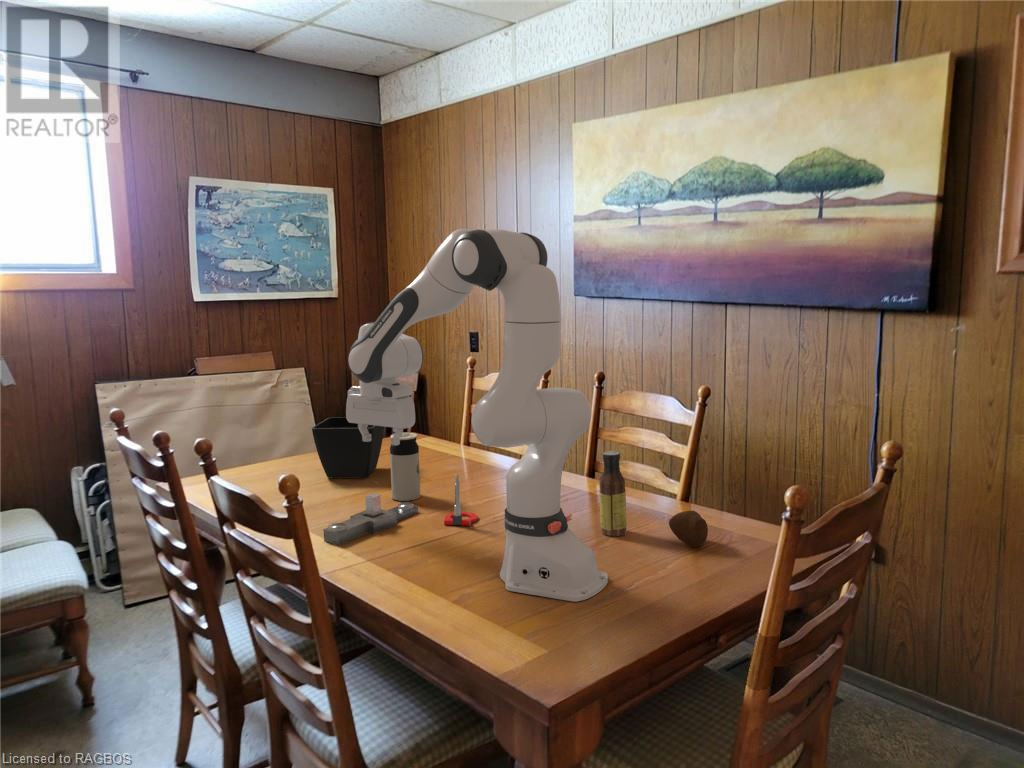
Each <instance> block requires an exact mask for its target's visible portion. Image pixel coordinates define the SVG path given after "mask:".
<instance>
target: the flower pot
mask: <svg viewBox="0 0 1024 768" xmlns="http://www.w3.org/2000/svg"><path fill="white" fill-rule="evenodd" d="M367 430H368V432H369V434H371V438H372V440H371V441H369V442H364V441H363V440H362V434H361V432H360V430H359V428H358V424H357V423H349V422H348V420H347V419H346V416H344V417H343V416H341V417H340V416H339V417H337V416H336V417H335V416H334V417H328V418H325V419H324V420H323V421H321V422H319V423H317V424H315V426H313V427H311V432H312V436H313V441H314V444H315V448H316V452H317V455H318V458H319V461H320V463H321V466H322V468H323V471H324V473H325V476H326V477H327V478H329V479H366V478H369V477H370V475H371V474H372V473H373V472H374V471H375V470H376V469H377V466H378V462H379V459H380V455H381V450H382V446H383V445H382V444H383V439H384V433H385V427H384V426H375V425H368V427H367Z"/></svg>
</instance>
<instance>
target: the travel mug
mask: <svg viewBox="0 0 1024 768" xmlns="http://www.w3.org/2000/svg"><path fill="white" fill-rule="evenodd" d="M393 436H394V433H393V434H391V435H390V438H393ZM417 437H418V434H417V433H414V432H402V434H401V436H400V444H399V445H396V446H395V445H391V444H390V446H389V456H390V457H389V458H390V461H389V462H390V482H391V484H390V485H391V486H390V487H391V498H392V500H395V501H397V500H398V502H411V501H410V500H412V501H415V500H417V499H418V498H420V497H421V480H420V476H421V473H420V448H419V447H420V446H419V444H418V442H417ZM390 438H389V439H390Z"/></svg>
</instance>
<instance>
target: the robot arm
mask: <svg viewBox="0 0 1024 768" xmlns="http://www.w3.org/2000/svg"><path fill="white" fill-rule="evenodd" d="M547 265H548V251H547V248H546V246H545V244H544V242H543V241H542V240H541V239H540V238H538V237H537V236H535V235H533V234H530V233H527V232H517V231H512V230H511V231H510V230H506V229H485V230H484V229H474V230H471V229H469V228H458V229H455V230H453V231H452V232H451V233H450V234H449V235H448V236H447V237H446V238H445V239H444V240H443V241H442V242H441V244H440V245H439V246H438V247H437V249H436V250H435V251H434V253H433V254H432V255H431V258H430V259H429V261H428V262H427V263H426V265H425V266H424V268H423V270H422V271H421V272H420V273H419V274H418V275H417V276H416V278H415V279H413V281H412V282H411V283H410V284H408V285H407V286H406V287H405V288H404V289H403V290H401V291H400V292H399V293H397V294H396V296H395V297H394V298H393V299H392V300H391V301H390V303H389V304H388V305H387V306H386V308H384V310H383V311H382V312H381V313H380V315H379V316H378V317H377V319H376V320H375V321H373V322H372V321H370V322H367V323H365V324H362V325H361V326H360V327H359V330H358V337H357V339H356V340H355V341H354V342H353V344H352V346H350V349H349V351H348V355H347V365H348V368H349V370H350V372H351V374H352V375H353V376H354V377H355V378H357V380H359V386H357V385H353V386H351V387H350V388H349V389H348V390H347V399H346V406H345V407H346V408H345V417H346V419H347V420H348V422H349V423H357V424H358V428H359V430H360V432H361V434H362V440H363V441H364V442H369V441H371V440H372V438H371V434H369V432H368V430H367V427H368V425H375V426H384V428H385V427H386V428H392V431H393V432H394V433H393V434H394V436H393V438H389V439H390V440H389V441H390V446H391V445H395V446H396V445H399V444H400V436H401V434H402V433H404V430H405V429H411V428H412V427H413V426H414V425H415V423H416V408H415V402H414V399H413V398H412V397H411V396H412V395H413V393H414V390H413V387H412V386H411V385H409V384H406V383H404V382H402V381H401V380H400V379H397V378H403V377H409V376H413V375H416V374H417V373H419V371H420V370H421V368H422V367H423V364H424V361H425V360H424V359H425V358H424V357H425V355H424V353H425V352H424V350H423V349H424V348H423V347H422V345H421V343H420V341H419V340H418V339H417V338H416V337H414V336H409V335H407V334H405V333H404V332H405V331H406V330H407V329H408V328H410V327H411V326H412V325H415V324H417V323H418V322H421V321H424V320H427V319H431V318H435V317H438V316H442V315H446V314H449V313H452V312H453V311H455V310H457V309H458V308H459V307H460V306H461V305H462V304H463V303H464V302H465V301H466V300H467V298H468V296H470V294H471V292H472V291H473V289H474V287H475V286H478V287H479V288H483V289H484V290H486V291H489V292H490V291H493V290H495V289H498V290H499V291H500V293H501V294H502V297H503V300H504V345H503V358H502V363H501V367H500V370H499V373H498V375H497V377H496V379H495V380H494V383H493V384H492V386H491V387H490V389H489V390H488V391H487V392H486V393H485V395H483V396H482V397H480V398H479V399H478V401H477V402H476V403H475V405H474V407H473V410H472V412H471V427H472V431H473V434H474V436H475V437H476V439H477V440H478V441H479V442H480V443H481V445H483V446H486V447H492V448H493V447H494V448H504V449H505V448H506V449H507V448H516V447H523V446H524V447H525V446H527V449H526V451H525V453H524V454H523V456H522V457H521V458H520V459H519V460H517V462H515V463H514V464H513V465H511V466H510V468H509V470H508V471H507V474H506V479H505V480H506V483H505V485H506V492H505V493H506V508H505V509H504V528H505V533H506V535H505V548H504V553H503V554H504V555H503V559H502V564H501V569H500V571H499V577H500V579H501V581H503V582H504V585H505V589H506V590H507V591H509V592H515V593H519V594H520V593H522V594H527V595H532V596H536V597H537V596H538V597H545V598H550V599H557V600H561V601H566V602H567V601H568V602H573V603H574V602H580V601H585V600H587V599H590V598H592V597H594V596H595V595H597V594H598V593H600V592H601V591H602V590H604V588H606V587H607V584H608V582H609V576H608V573H607V572H605V571H602V570H599V569H598V565H597V561H596V560H597V559H596V555H595V552H594V551H593V549H592V548H591V547H590V546H588V544H586V543H585V542H584V541H583V540H582V539H581V538H579V536H577V535H576V534H575V533H574V531H573V530H571V529H570V528H569V524H568V522H569V521H571V520H572V516H573V514H571V513H570V514H569V515H567V516H566V515H565V514H564V511H563V509H562V507H561V492H562V491H561V489H562V488H561V487H562V476H563V470H564V466H565V464H566V463H565V462H566V460H567V457H568V455H569V453H570V451H571V450H572V447H574V445H575V443H576V442H577V440H578V439H579V438H581V436H582V435H584V434H585V432H587V430H588V428H589V426H590V424H591V420H592V407H591V404H590V402H589V399H588V398H587V396H586V394H584V393H583V392H582V391H581V390H580V389H579V390H578V389H574V388H568V387H559V386H558V387H550V388H548V387H547V388H538V385H539V383H540V381H541V379H542V378H543V376H544V375H545V374H546V373H548V371H550V370H551V369H553V368H554V367H555V366H556V365H557V364H558V362H559V361H560V358H561V302H560V294H559V293H560V291H559V286H558V281H557V277H556V275H555V272H554V271H552V269H551V268H549V267H547Z"/></svg>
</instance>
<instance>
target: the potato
mask: <svg viewBox="0 0 1024 768" xmlns="http://www.w3.org/2000/svg"><path fill="white" fill-rule="evenodd" d="M668 525H669V528H670V530H671V531H672V533H673V534H674V535H675V536H676V538H678V539H679V540H680V541H681V542H683V543H684V544H685V545H687V544H688V545H687V546H689V545H691V546H690V547H692V546H699V547H701V546H702V545H703V544H705V542H706V540H707V539H708V534H709V533H708V532H709V529H708V523H707V522H706V520H705V519H704V518H703V517H702V516H701V515H700V513H698V512H697V511H695V510H685V511H681V512H678V513H676V514H675V515H673V516H672V517H671V518H670V519H669V522H668Z"/></svg>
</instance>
